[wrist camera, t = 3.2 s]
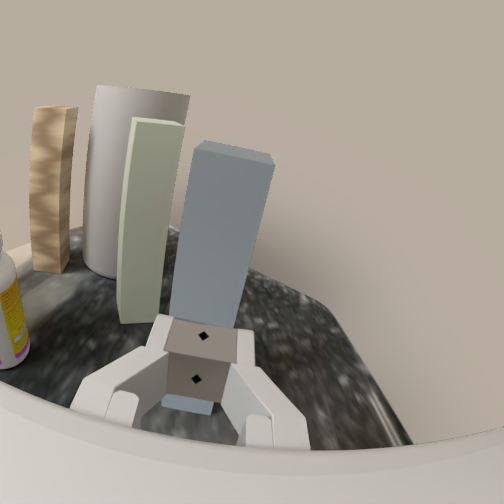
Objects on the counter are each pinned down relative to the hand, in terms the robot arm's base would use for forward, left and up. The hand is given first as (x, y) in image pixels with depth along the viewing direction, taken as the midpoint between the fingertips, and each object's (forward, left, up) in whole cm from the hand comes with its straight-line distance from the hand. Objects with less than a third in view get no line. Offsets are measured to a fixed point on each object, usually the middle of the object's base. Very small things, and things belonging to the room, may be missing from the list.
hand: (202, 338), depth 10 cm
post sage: (-4, +24, -18) cm, 30 cm away
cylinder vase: (-8, +36, -18) cm, 41 cm away
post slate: (+2, +12, -18) cm, 22 cm away
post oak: (-18, +32, -18) cm, 41 cm away
